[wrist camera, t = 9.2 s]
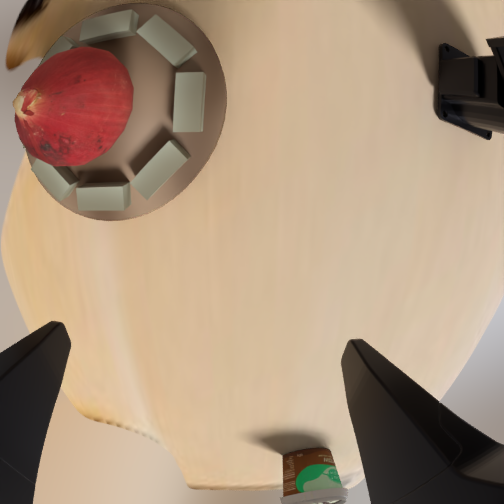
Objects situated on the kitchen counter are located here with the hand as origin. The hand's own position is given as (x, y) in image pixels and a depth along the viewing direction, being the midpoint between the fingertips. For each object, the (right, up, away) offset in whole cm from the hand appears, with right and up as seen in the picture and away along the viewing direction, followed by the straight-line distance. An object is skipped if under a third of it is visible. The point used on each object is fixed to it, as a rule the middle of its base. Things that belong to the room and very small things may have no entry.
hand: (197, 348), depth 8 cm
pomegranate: (-7, +11, +6) cm, 14 cm away
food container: (+12, -29, +29) cm, 43 cm away
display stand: (-7, +12, +7) cm, 16 cm away
